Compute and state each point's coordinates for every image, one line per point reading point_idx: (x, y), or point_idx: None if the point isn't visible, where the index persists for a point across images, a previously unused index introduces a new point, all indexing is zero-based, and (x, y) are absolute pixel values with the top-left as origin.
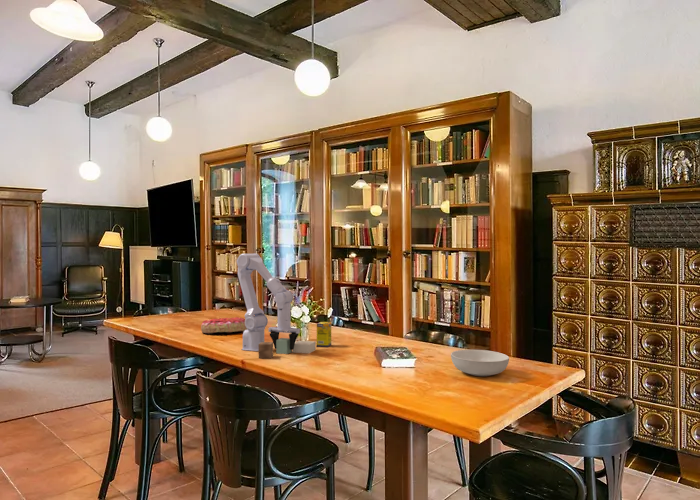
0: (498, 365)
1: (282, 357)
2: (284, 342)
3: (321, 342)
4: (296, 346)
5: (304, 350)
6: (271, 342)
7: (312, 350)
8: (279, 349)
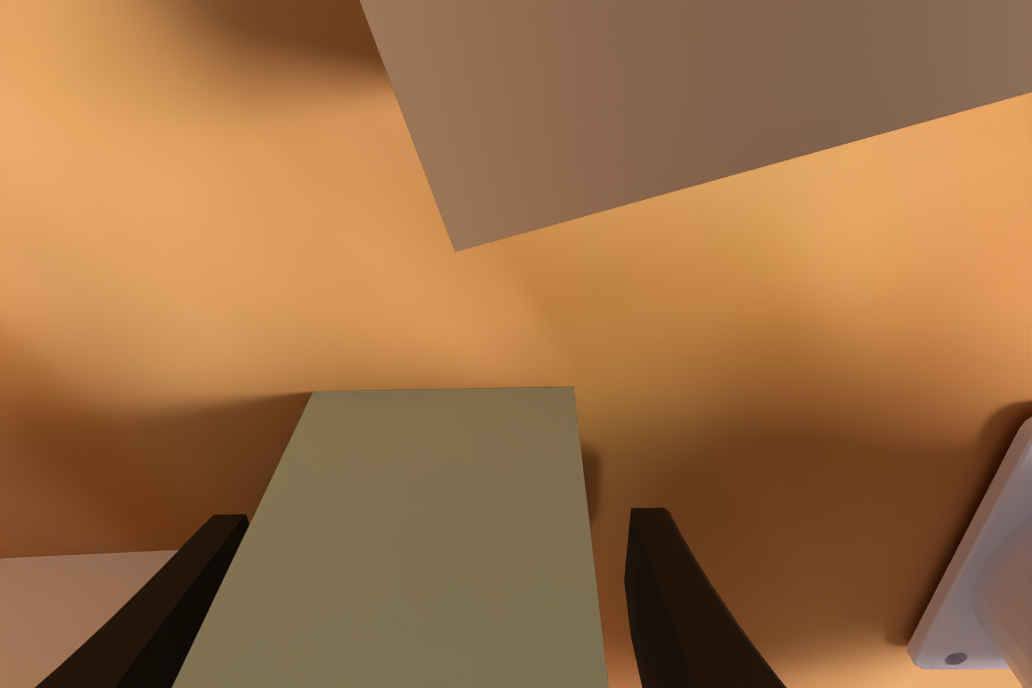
0: None
1: (124, 11)
2: (276, 632)
3: None
4: None
5: (45, 597)
6: (515, 143)
7: None
8: (490, 454)
